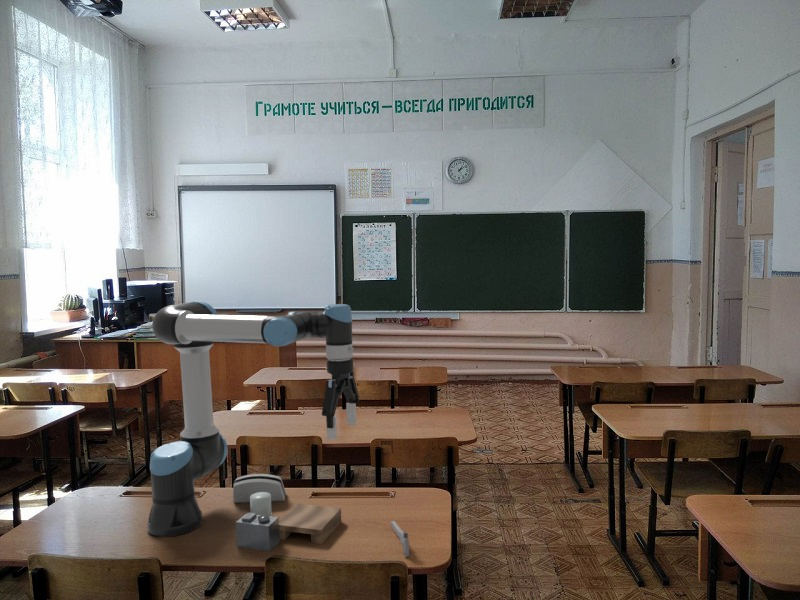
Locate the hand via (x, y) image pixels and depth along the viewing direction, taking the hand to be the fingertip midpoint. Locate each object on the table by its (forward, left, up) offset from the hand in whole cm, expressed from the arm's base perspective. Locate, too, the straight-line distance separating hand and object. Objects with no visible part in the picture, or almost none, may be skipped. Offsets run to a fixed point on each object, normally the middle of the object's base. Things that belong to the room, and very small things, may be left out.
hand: (342, 431), depth 172 cm
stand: (-9, -6, -28) cm, 29 cm away
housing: (-19, -17, -28) cm, 37 cm away
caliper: (+18, -5, -28) cm, 34 cm away
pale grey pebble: (-25, -5, -28) cm, 37 cm away
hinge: (-34, +9, -28) cm, 45 cm away
